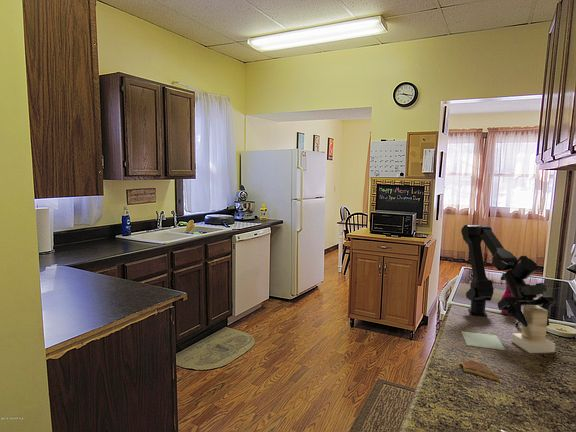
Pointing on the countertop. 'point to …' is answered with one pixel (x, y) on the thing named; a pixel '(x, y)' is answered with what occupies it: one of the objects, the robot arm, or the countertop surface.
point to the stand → (533, 344)
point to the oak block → (535, 323)
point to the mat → (482, 340)
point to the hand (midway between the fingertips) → (537, 325)
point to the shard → (478, 369)
